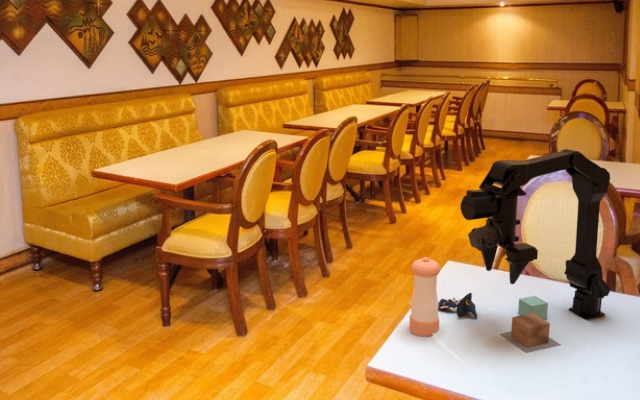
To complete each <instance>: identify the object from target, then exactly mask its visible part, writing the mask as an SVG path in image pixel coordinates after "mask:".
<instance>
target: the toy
mask: <svg viewBox="0 0 640 400" xmlns="http://www.w3.org/2000/svg"><path fill="white" fill-rule="evenodd" d="M472 296H473V294H472V292H469V293H467V294H466V295H465V296H464V297H463V298H460V299H457V300H456V298H455V297H452V298H453V299H451V298H449V299H446V298H441V299H440V300H439V301H438V311H439V310H441V311H444V310H448V309H451V308H452V309H456V314H457V316H458V317H463V316H465V315H467V313H471V315H473V316H474V319H475V320H477V318H478V314H477V313H478V312H477V310H476V304H475V303H474V302H473V301H472Z"/></svg>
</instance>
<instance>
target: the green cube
mask: <svg viewBox="0 0 640 400" xmlns="http://www.w3.org/2000/svg"><path fill="white" fill-rule="evenodd" d="M548 308H549V303H548V302H547V301H546V300H543V299H541V298H540V297H538V296H536V295H531V296H526V297H522V298H521V297H520V298H518V311H517V314H518V316H520V315H525V314H530V313H534V314H535V315H537V316H539V317H540V318H542V319H544V320H546V319H548V310H549V309H548Z"/></svg>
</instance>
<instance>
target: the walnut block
mask: <svg viewBox="0 0 640 400" xmlns="http://www.w3.org/2000/svg"><path fill="white" fill-rule="evenodd" d="M550 327H551V323H550V322H549V321H548V320H546V319H542V318H540V317H539V316H537V315H535V314H534V313H530V314H525V315H516V316H512V317H511V329H510V330H511V331H510V332H511V336H512V337H513V338H514V339H516V340H517V341H519V342H520V343H522V344H523V345H525V346H526V347H531V346H536V345H540V344H544V343H548V340H549V338H550Z"/></svg>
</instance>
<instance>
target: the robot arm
mask: <svg viewBox="0 0 640 400" xmlns="http://www.w3.org/2000/svg"><path fill="white" fill-rule="evenodd" d="M561 171H565V172H566V174H568V175H569V176H570V177H571V184H572V190H573V192H574V193H575V197H576V199H577V216H576V217H577V220H576V233H575V234H576V235H575V252H574V255H573V256H572V257H571V258H570V259H566V260H565V262H564V263H565V269H564V275H565V276H566V280H568V283H569V287H570V288H573V289H575V290H574V296H573V298H572V299H573V300H572V307H568V311H569V312H571V313H573V314H575V315H577V316H578V317H581V318H582V319H584V320H591V319H595V318H600V317H605V316H606V313H605V312H603V311H602V309H601V308H602V301H603V299H605V297H608V296H609V293H610V292H611V289H612V288H611V287H610V286H609V284H607V282H606V281H605V280H604V277H603V268H602V265H601V263H600V261H599V259H598V257H597V251H598V250H597V249H598V237H599V222H600V220H599V219H600V210H601V207H600V205H601V201H602V200H603V198H605V196H606V194H607V193H608V191H609V185H610V181H611V174H610V172H609V171H608V170H607V169H606V168H605V167H601V166H600V165H598V164H597V163H595V162H594V161H592V160H591V159H589V158H587V157H586V156H585V155H584V154H583V153H581V152H580V151H577V150H574V149H568V148H564V149H562V150H560V151H556V152H553V153H548V154H544V155H540V156H537V157H532V158H529V159H528V158H527V159H524V160H515V159H505V160H504V159H502V160H496V161H494V162H493V163H492V165H491V167H490V169H489V171H488V172H487V174H486V175H485V177H484V178H483V181H481V183H480V185H479V186H478V189H468V190H466V194H465V195H464V196H463V197H462V199H461V202H460V212H461V215H462V216H463V218H464V219H465V220H467V221H473V220H480V219H481V220H482V219H486V220H485V224H484V225H483V226H480V227H474V228H472V229H471V231H470V232H469V233H468V234H467V236H468V240H469V243H470V246H471V247H472V248H475V249H477V250H478V251H479V252H481V255H482V260H483V263H484V267H485V270H486V271H487V272H489V271H491V270H492V268H493V265H494V263H495V260H496V259H495V258H496V255H497V252H498V251H497V250H498V247H501V248H502V249H505V256H506V257H505V258H504V260H505V261H506V262H507V263H508V265H509V266H508V267H509V272H508V273H509V284H510V285H514V284H515V283H516V282H517V281H518V280H519V278H520V276H521V275H522V273H523V271H524V269H525V268H526V267H527V266H528V265H529V263H530V262H533V261H534V260H535V261H536V260H538V255H539V254H538V253H539V251H538V248H537V247H535V246H534V245H530V244H528V243H527V242H522V243H515V242H520V236H518V235H516V233H517V232H516V230H517V226H518V225H519V226H520V225H521V220H520V219H518V218H517V216H518V215H517V213H518V212H517V211H518V202H519V201H518V200H519V199H518V198H519V197H523V196H526V195H527V192H526V191H525V190H523V189H522V186H525V185H527V184H528V183H529V182H530V180H532V179H534V178H537V177H541V176H544V175H545V176H546V175H550V174H552V173H553V174H554V173H556V172H561ZM496 185H497V186H496ZM500 186H501V187H500Z"/></svg>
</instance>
